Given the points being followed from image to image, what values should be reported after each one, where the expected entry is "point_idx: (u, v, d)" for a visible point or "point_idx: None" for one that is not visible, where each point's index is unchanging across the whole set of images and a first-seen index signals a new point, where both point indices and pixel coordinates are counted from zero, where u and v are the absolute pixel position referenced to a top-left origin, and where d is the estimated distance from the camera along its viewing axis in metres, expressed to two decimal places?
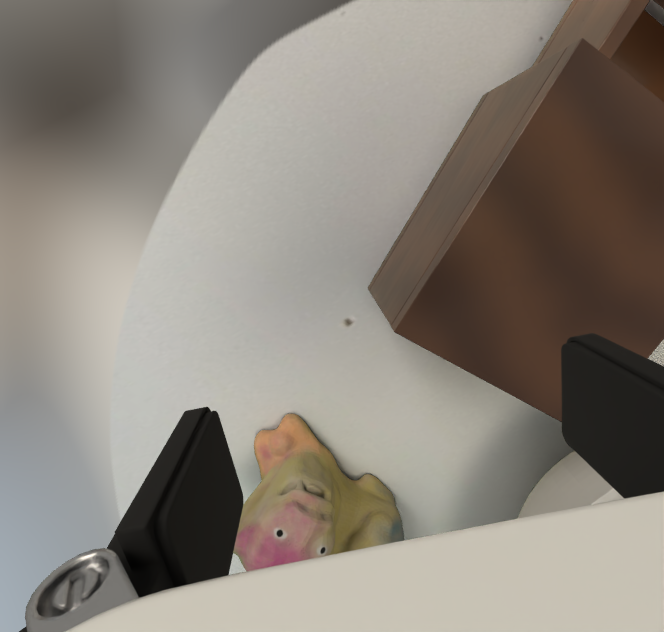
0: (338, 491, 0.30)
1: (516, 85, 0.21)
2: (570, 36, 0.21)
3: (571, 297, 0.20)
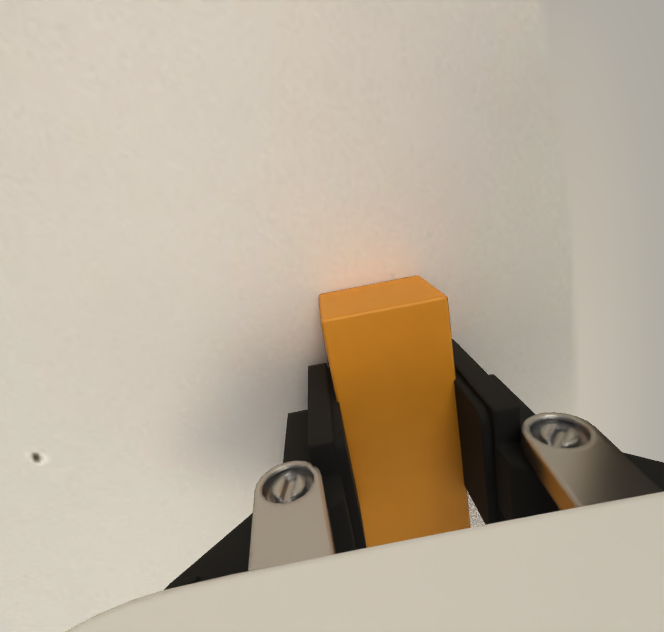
0: None
1: None
2: None
3: None
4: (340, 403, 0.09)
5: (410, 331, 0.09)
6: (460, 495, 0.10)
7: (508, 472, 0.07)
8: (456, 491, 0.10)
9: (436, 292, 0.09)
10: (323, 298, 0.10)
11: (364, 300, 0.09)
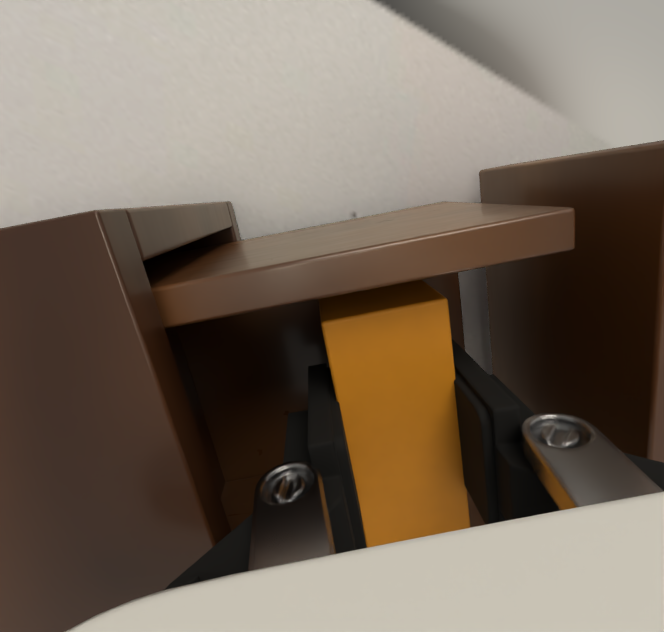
0: None
1: None
2: (313, 235, 0.11)
3: None
4: (340, 405, 0.09)
5: (410, 333, 0.09)
6: (460, 497, 0.10)
7: (508, 472, 0.07)
8: (457, 493, 0.10)
9: (436, 294, 0.09)
10: (323, 300, 0.10)
11: (365, 302, 0.09)
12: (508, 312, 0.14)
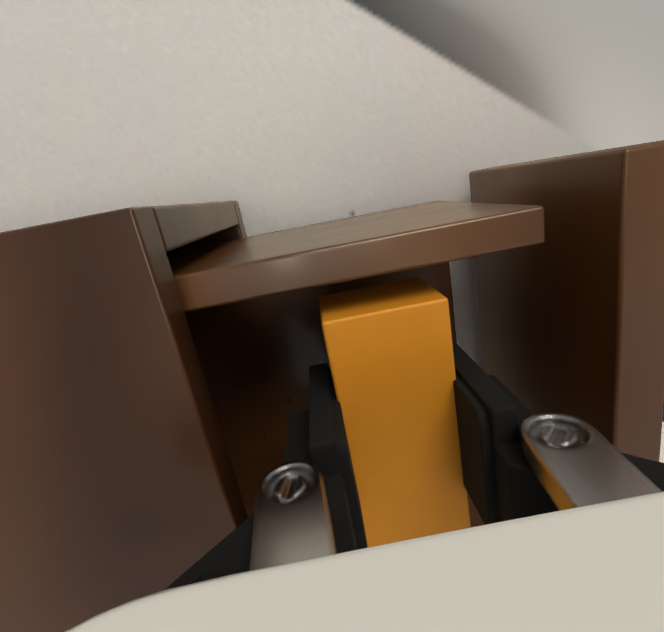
0: None
1: None
2: (314, 231, 0.12)
3: None
4: (341, 405, 0.09)
5: (410, 333, 0.09)
6: (460, 496, 0.10)
7: (507, 472, 0.07)
8: (457, 493, 0.10)
9: (436, 294, 0.09)
10: (323, 300, 0.10)
11: (365, 302, 0.09)
12: (495, 304, 0.15)
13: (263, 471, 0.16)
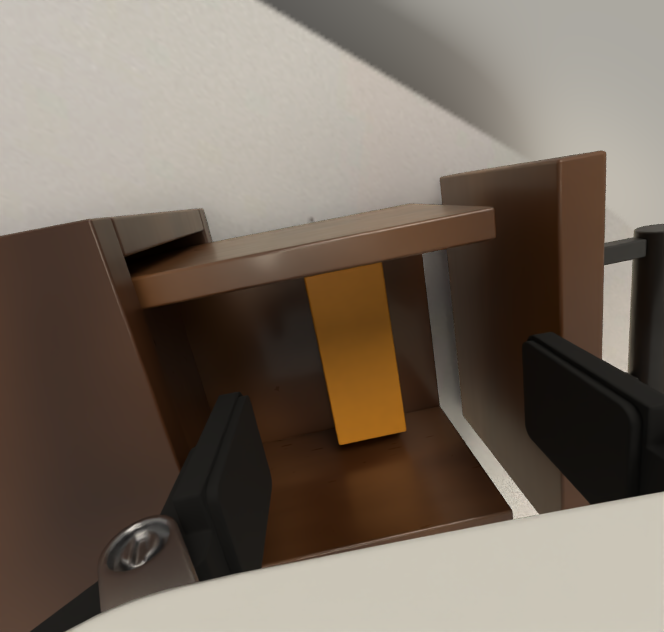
0: None
1: None
2: (299, 231, 0.13)
3: None
4: (317, 331, 0.14)
5: (359, 283, 0.14)
6: (396, 395, 0.15)
7: None
8: (394, 392, 0.15)
9: None
10: None
11: None
12: (465, 297, 0.16)
13: None
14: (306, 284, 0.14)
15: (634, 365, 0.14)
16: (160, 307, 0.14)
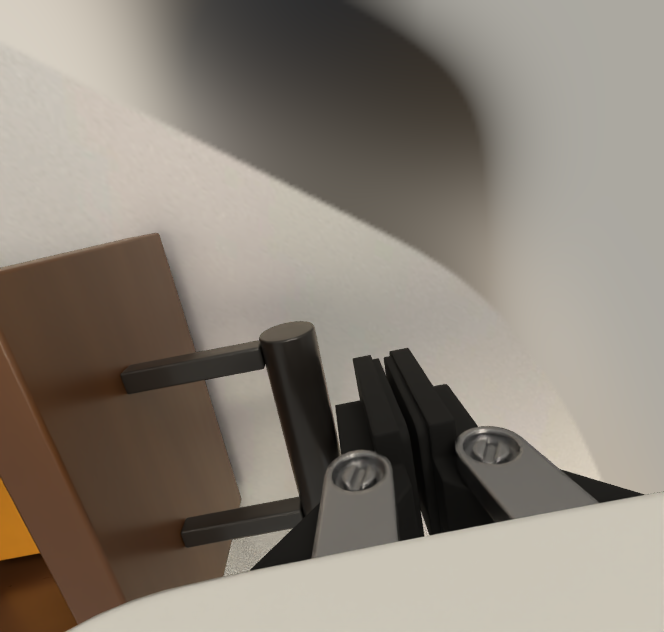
0: None
1: None
2: None
3: None
4: None
5: None
6: None
7: (443, 486, 0.07)
8: None
9: None
10: None
11: None
12: None
13: None
14: None
15: (298, 492, 0.11)
16: None
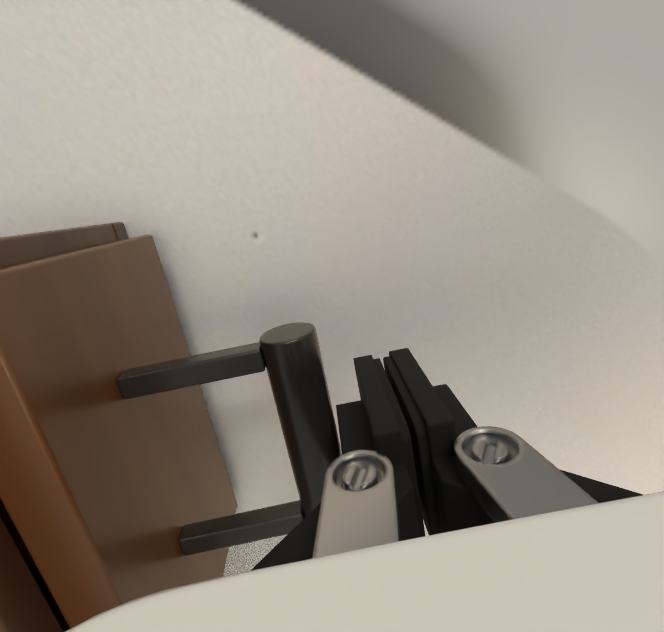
0: None
1: None
2: None
3: None
4: None
5: None
6: None
7: (442, 487, 0.07)
8: None
9: None
10: None
11: None
12: None
13: None
14: None
15: (299, 495, 0.11)
16: None
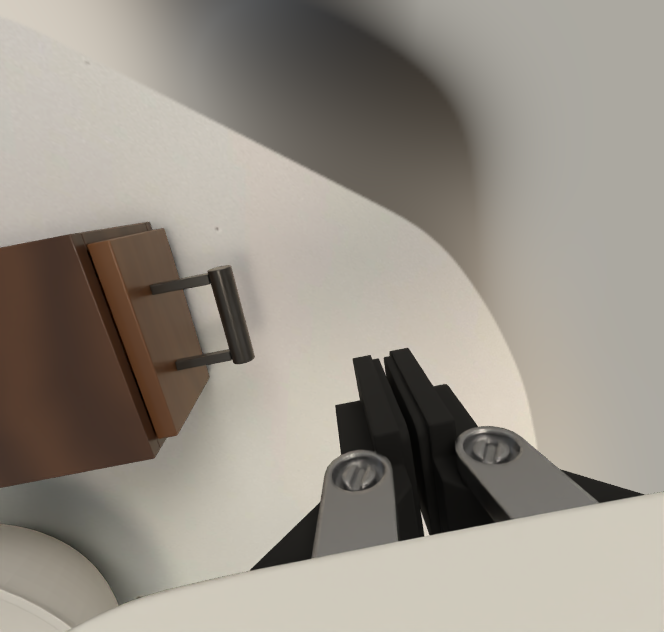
0: None
1: None
2: None
3: None
4: None
5: None
6: None
7: (442, 486, 0.07)
8: None
9: None
10: None
11: None
12: None
13: None
14: None
15: (228, 344, 0.25)
16: None
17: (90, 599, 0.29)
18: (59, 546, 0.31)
